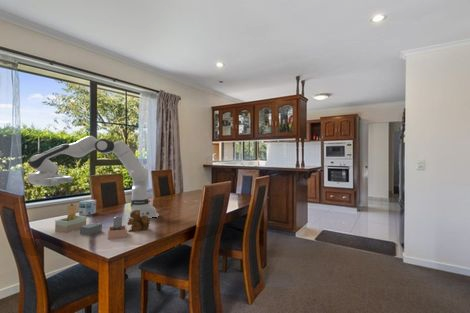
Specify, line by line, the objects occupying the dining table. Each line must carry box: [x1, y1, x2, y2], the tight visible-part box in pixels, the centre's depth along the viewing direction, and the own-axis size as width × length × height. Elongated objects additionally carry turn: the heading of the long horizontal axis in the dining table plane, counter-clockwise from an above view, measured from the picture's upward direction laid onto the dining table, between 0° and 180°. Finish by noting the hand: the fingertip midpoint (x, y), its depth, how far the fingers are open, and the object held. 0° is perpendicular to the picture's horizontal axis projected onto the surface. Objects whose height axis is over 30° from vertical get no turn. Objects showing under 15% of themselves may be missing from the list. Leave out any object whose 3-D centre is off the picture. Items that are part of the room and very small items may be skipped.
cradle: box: [79, 222, 103, 236], centre depth 148 cm, size 9×7×5 cm
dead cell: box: [112, 215, 123, 231], centre depth 144 cm, size 4×4×12 cm
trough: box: [54, 215, 87, 234], centre depth 156 cm, size 14×9×7 cm, turn 164°
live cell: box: [66, 203, 77, 221], centre depth 156 cm, size 4×4×12 cm
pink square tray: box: [107, 224, 128, 240], centre depth 144 cm, size 10×10×5 cm
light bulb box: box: [78, 199, 97, 217], centre depth 195 cm, size 11×7×11 cm, turn 168°
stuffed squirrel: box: [127, 210, 151, 233], centre depth 157 cm, size 10×14×13 cm
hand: (64, 180), depth 161 cm, fingers open, 8 cm apart
